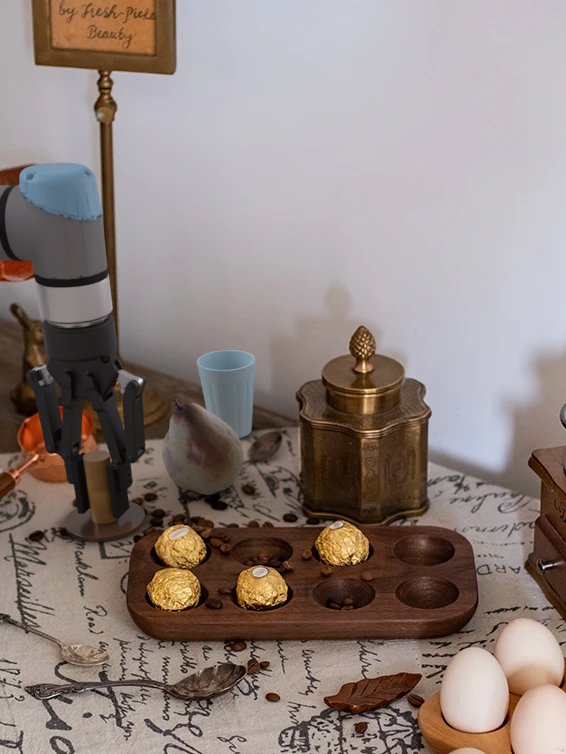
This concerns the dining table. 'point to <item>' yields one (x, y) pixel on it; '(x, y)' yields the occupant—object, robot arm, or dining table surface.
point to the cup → (229, 387)
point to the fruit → (201, 450)
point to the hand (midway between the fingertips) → (103, 510)
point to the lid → (101, 506)
